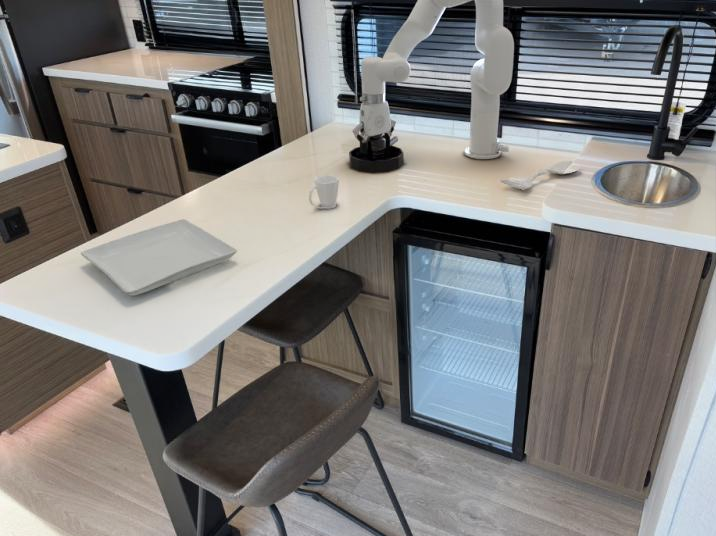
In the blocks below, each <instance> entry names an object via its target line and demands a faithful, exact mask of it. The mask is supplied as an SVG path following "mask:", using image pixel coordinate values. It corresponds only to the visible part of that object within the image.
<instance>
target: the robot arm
mask: <svg viewBox="0 0 716 536" xmlns="http://www.w3.org/2000/svg"><path fill="white" fill-rule="evenodd" d="M471 1H473V0H417V1H416V3H415V5H414V7H413V8H412V10H411V12H410V14H409V16H408V18H407V19H406V21H404V23H403V24H402V26H401V27H400V28H399V30H398V31H397V32H396V34H395V35H394V37H393V38H392V40H391V41H390V42H389V45H388V47H387V49H386V51H385V52H384V54H383V56H382V57H379V56H367V57H366V56H365V57H364V58H362V60H361V62H360V75H361V77H360V79H361V96H360V97H359V101H360V102H362V103H360V107H359V124H357V126H355V127H354V128H353V129H352V133H353V135H354V138H355V139H356V140H357V141H358V142H359V147H360V152H361V153H363V154H367V153H368V152H367V142H366V140H367V138H368V136H375V135H379V134H383V135H382V136H384V137H385V139H386V148H390V140H391V137H392V135H393V132H394V131H395V127H396V124H397V121H396V120H394V119H391V112H390V106H389V103H388V101H387V99H386V83H387V82H388V83H395V84H397V83H398V84H399V83H403V82H406V81H407V80H408V79H409V77H410V76H411V72H412V68H411V65H410V63H409V62H408V58H409V57H410V56H411V53H412V52H413V51H414V49H415V48H416V47H417V45H418V44H419V43H421V42H422V41H424V40H426V39H428V38H429V36H431V35H432V34H433V32H434V30H435V28H436V26H437V24H438V23H439V22H440V19H441V17H442V15H443V14H444V12H445V10H446V8H453V7H457V6H460V5H463V4H466V3H469V2H471ZM474 5H475V30H474V31H475V34H474V44H475V48H476V50H477V51H478V52H479V53H480V54H482V55H483V56H484V57H483V58H481V59H479V60H477V61H476V62H475V63H474V64H473V66H472V68H471V71H470V76H469V77H470V80H469V81H470V93H471V104H470V122H469V145H468V147H466V148H465V149H464V155H465V156H466V157H468V158H470V159H476V160H490V159H491V160H492V159H496V158H499V157H500V156H501V153H502V152H503V153H509V150H510V147H509V146H508V145H507V144H501V143H500V140H499V139H498V134H499V120H500V119H499V117H500V105H501V104H500V103H501V99H500V97H501V95H503V94H504V93H505V92H507V91H508V89H509V88H510V86H511V83H512V79H513V68H514V56H515V55H514V53H515V42H514V37H513V34H512V32H511V31H510V30H509V29H508V28H507V27H505V26H504V0H474Z"/></svg>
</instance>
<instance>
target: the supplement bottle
mask: <svg viewBox="0 0 716 536" xmlns="http://www.w3.org/2000/svg"><path fill="white" fill-rule="evenodd" d="M383 135H384V134H379V135H375V136H368V138H367V140H366V142H367V152H368V153H367V154H366V160H369V161H378V160H386V139H385V137H384V136H383Z"/></svg>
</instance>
